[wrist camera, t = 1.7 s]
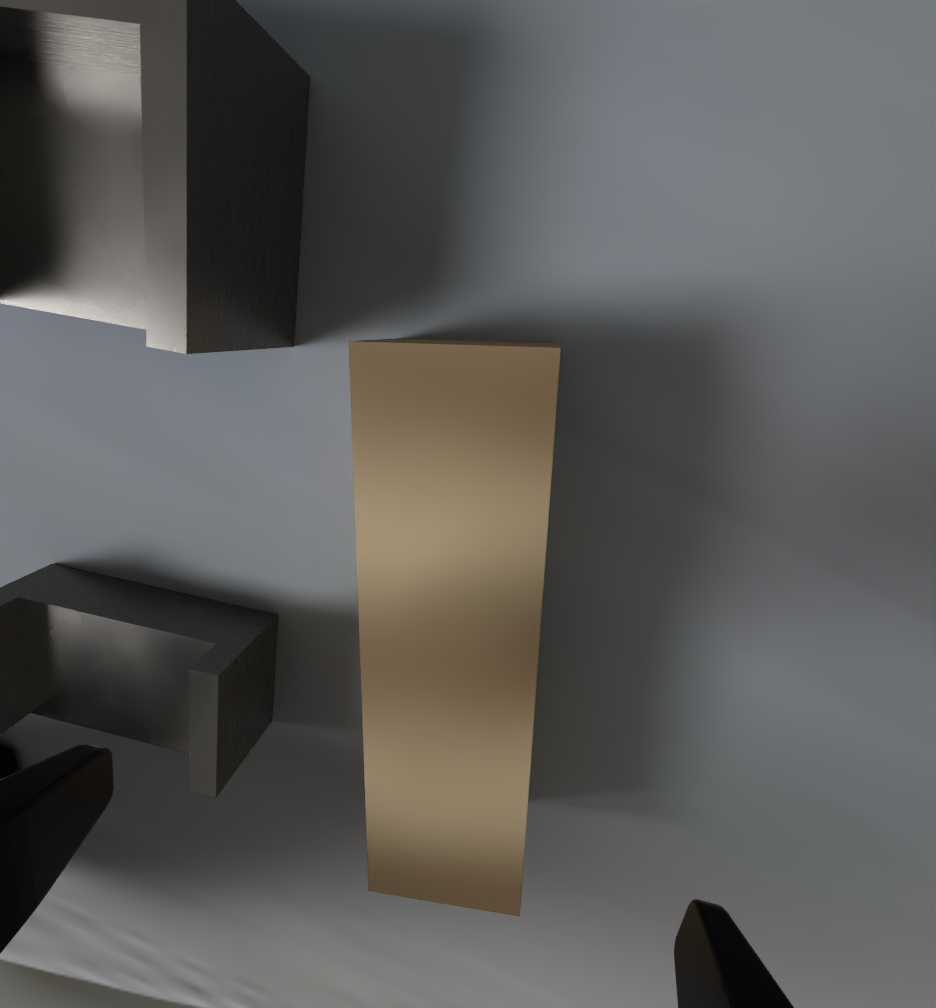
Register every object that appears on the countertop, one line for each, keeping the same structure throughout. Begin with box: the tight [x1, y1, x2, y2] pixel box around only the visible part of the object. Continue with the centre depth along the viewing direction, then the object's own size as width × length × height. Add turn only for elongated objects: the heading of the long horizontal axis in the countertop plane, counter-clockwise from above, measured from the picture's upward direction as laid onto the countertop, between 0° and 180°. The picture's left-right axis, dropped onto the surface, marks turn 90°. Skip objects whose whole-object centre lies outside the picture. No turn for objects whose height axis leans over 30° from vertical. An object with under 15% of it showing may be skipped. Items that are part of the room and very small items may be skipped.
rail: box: [349, 338, 561, 916], centre depth 14 cm, size 14×4×4 cm, turn 179°
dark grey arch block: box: [0, 564, 278, 798], centre depth 17 cm, size 4×8×3 cm, turn 81°
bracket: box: [0, 0, 310, 354], centre depth 12 cm, size 6×8×4 cm
